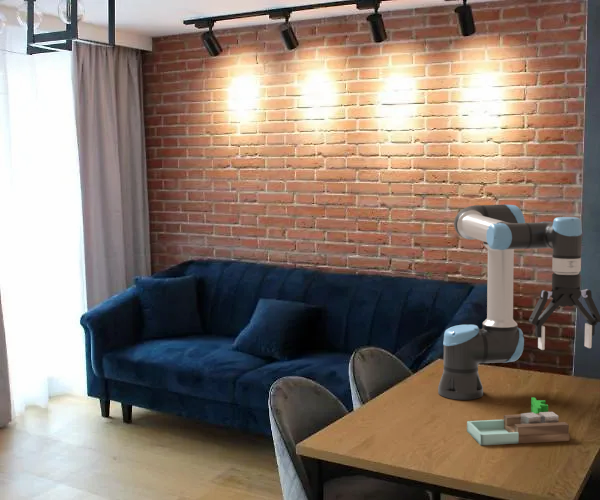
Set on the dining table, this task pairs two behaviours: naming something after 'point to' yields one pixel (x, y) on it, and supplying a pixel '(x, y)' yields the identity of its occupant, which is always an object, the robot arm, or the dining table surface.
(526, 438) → the slot board
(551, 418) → the chip
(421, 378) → the dining table surface
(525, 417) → the chip
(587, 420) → the dining table surface
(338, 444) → the dining table surface
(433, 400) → the dining table surface
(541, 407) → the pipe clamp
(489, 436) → the tray
